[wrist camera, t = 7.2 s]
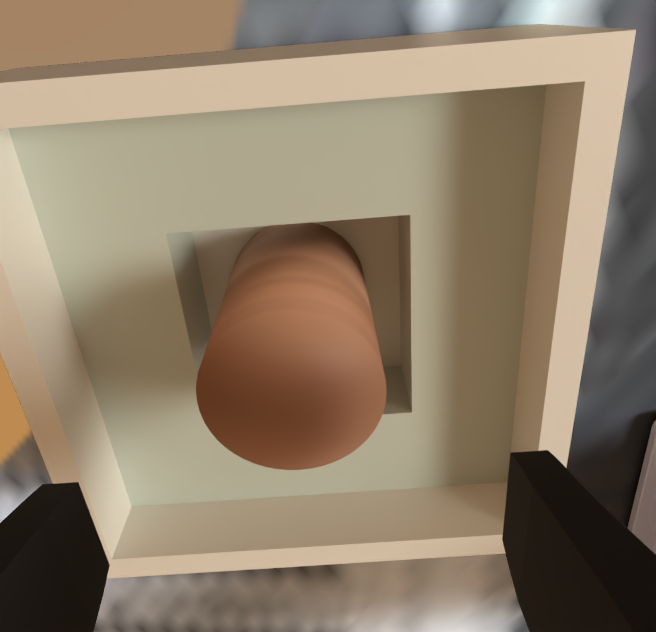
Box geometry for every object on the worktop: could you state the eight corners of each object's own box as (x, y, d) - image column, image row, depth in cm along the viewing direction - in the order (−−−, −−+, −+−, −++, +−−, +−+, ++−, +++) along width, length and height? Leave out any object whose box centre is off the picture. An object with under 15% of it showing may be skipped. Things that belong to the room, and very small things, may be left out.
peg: (357, 344, 18) (376, 473, 13) (232, 338, 18) (198, 466, 13) (370, 224, 17) (397, 316, 11) (231, 216, 16) (192, 305, 11)
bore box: (504, 437, 21) (553, 550, 17) (138, 462, 21) (91, 579, 17) (541, 23, 15) (636, 29, 10) (18, 67, 15) (-106, 91, 11)
